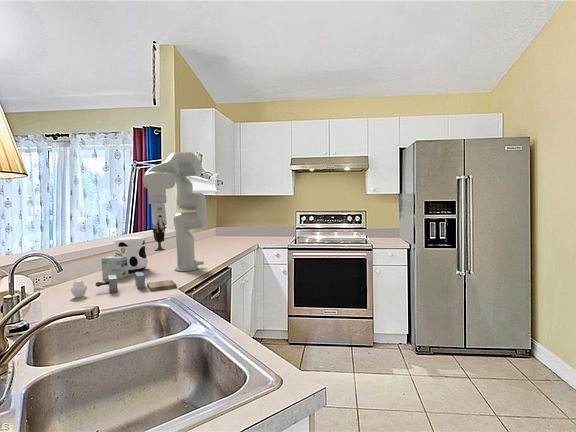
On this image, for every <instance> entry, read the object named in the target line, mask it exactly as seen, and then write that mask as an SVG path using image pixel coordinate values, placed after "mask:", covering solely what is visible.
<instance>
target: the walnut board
mask: <svg viewBox="0 0 576 432" xmlns="http://www.w3.org/2000/svg"><path fill="white" fill-rule="evenodd" d="M146 287H147V288H148V289H149V291H150V292H157V291H163V290H169V289H177V288H178V286H177V283H175V281H174V280H173V279H167V280H160V281H151V282H147V283H146Z"/></svg>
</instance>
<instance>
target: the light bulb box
mask: <svg viewBox="0 0 576 432" xmlns="http://www.w3.org/2000/svg"><path fill="white" fill-rule="evenodd" d="M101 273H102V275H101V276H102V279H103V280H106V279H107V280H108V275H116V277H117V280H119V279H121V280H122V279H124V278H125V279H126V278H127V277H129V272H128V261H127V256H115V255H114V256H113V255H112V256H109V255H108V256H105V257H101Z"/></svg>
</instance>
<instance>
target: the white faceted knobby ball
mask: <svg viewBox="0 0 576 432" xmlns="http://www.w3.org/2000/svg"><path fill="white" fill-rule="evenodd" d="M69 290H70V291H71V294H72V295H73V297H74V298H75V299H76V298H83V297H84V296H85V294H86V292H87V290H88V286H87V285H86V284H85V283H84V281H83V280H79V279H78V280H75V281H74V282H73V284H72V286H71V287H70V289H69Z"/></svg>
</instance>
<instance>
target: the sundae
mask: <svg viewBox="0 0 576 432" xmlns="http://www.w3.org/2000/svg"><path fill="white" fill-rule="evenodd" d="M157 225H159V224H157ZM150 229H152V234H153V239H154V241H155V242H157V240H156V233H157V228H156V226H155V225H153V226H152V227H150ZM166 229H167V226H166V225H164V224H163V230H164V235H165V232H166ZM157 244H158V246H157V248H156V249H154V250H153V251H154V252H161V251H166V249H165V248H163V247H162V242H157Z"/></svg>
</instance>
